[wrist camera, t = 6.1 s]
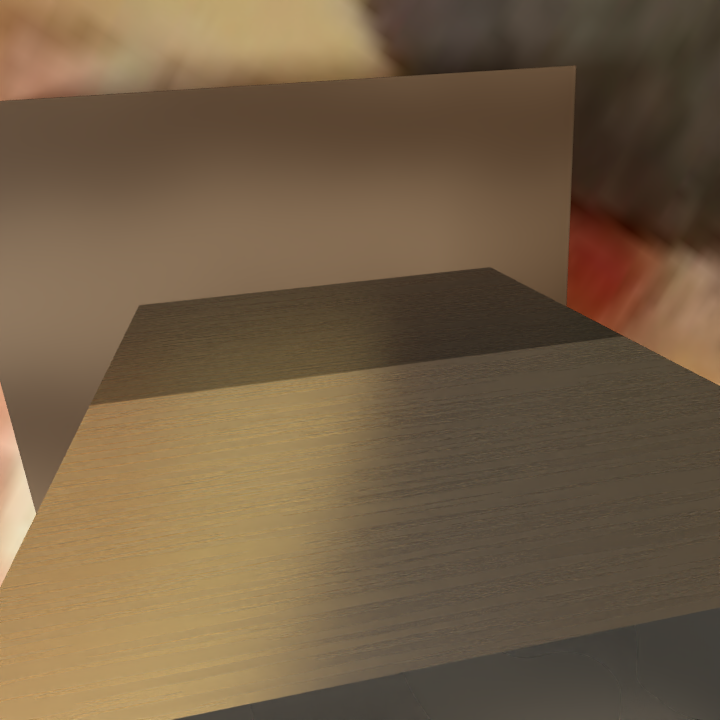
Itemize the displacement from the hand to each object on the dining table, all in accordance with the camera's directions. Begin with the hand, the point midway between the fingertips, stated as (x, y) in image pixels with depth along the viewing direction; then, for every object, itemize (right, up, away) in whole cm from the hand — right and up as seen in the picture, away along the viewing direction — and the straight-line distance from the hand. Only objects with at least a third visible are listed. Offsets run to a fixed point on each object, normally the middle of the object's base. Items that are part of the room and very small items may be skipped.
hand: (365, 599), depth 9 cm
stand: (-2, +4, +10) cm, 11 cm away
